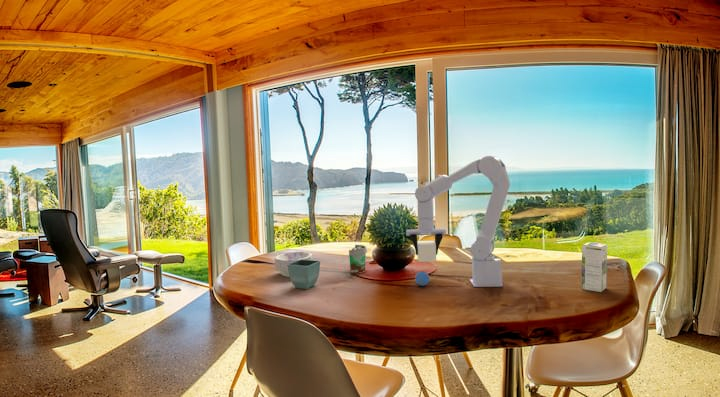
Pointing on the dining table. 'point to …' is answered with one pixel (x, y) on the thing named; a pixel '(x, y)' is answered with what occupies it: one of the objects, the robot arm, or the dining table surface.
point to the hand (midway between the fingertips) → (426, 254)
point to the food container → (357, 259)
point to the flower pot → (304, 273)
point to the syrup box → (594, 266)
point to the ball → (422, 278)
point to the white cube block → (426, 251)
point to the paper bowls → (289, 260)
